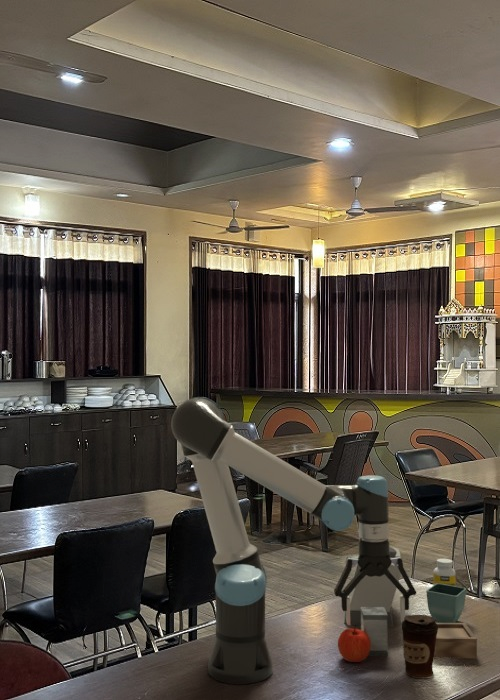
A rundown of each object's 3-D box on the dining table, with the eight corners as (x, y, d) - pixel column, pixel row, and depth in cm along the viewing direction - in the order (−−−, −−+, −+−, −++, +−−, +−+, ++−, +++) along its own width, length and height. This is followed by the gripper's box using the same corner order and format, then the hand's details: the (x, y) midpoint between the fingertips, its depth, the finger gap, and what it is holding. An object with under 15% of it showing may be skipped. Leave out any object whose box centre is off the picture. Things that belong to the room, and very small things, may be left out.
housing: (363, 655, 194) (363, 614, 194) (360, 646, 200) (360, 606, 200) (387, 655, 194) (387, 615, 194) (384, 646, 200) (384, 607, 200)
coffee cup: (430, 684, 177) (430, 627, 177) (395, 676, 182) (395, 620, 181) (442, 671, 185) (443, 616, 184) (409, 663, 189) (409, 609, 189)
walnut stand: (431, 658, 192) (431, 638, 192) (422, 641, 203) (422, 622, 203) (476, 658, 192) (476, 638, 192) (465, 641, 203) (465, 622, 203)
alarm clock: (345, 600, 236) (345, 532, 236) (399, 602, 234) (399, 534, 234) (344, 624, 216) (344, 550, 216) (402, 627, 214) (402, 552, 214)
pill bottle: (434, 601, 235) (434, 563, 235) (432, 595, 241) (432, 557, 241) (456, 603, 234) (456, 564, 234) (454, 596, 240) (454, 558, 240)
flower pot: (467, 619, 219) (467, 587, 219) (457, 629, 212) (457, 596, 212) (436, 614, 224) (436, 582, 224) (425, 623, 217) (425, 590, 217)
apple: (351, 650, 197) (351, 618, 197) (377, 659, 191) (377, 627, 191) (330, 659, 192) (330, 626, 192) (357, 669, 186) (357, 635, 186)
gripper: (325, 543, 193) (326, 629, 194) (426, 541, 193) (428, 627, 193) (322, 535, 201) (324, 618, 201) (420, 534, 200) (422, 617, 201)
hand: (375, 623), depth 197 cm, fingers open, 13 cm apart
